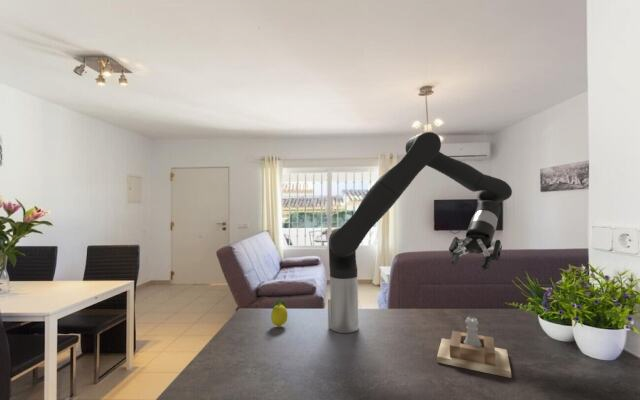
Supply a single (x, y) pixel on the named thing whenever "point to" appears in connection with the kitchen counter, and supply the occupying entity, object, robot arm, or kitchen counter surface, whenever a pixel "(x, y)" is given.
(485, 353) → the press socket
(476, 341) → the rook chess piece
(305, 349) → the kitchen counter surface
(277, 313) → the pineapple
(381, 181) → the robot arm
